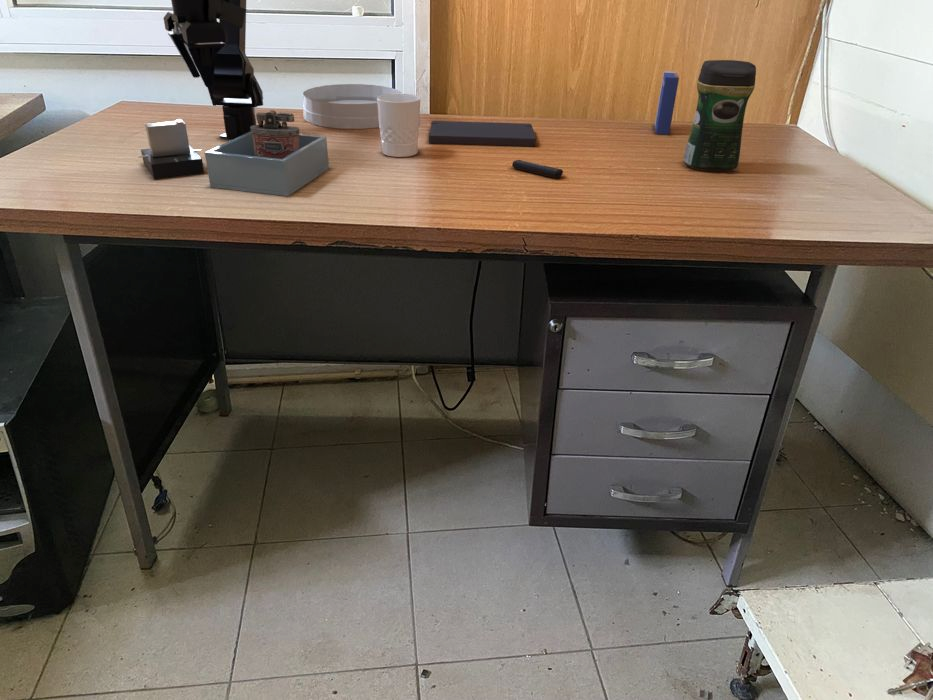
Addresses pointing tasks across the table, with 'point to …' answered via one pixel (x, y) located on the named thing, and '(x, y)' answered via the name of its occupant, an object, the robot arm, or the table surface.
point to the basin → (266, 166)
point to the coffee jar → (719, 115)
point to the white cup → (399, 123)
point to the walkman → (666, 102)
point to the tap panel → (173, 164)
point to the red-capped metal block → (167, 138)
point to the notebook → (482, 133)
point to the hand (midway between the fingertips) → (202, 82)
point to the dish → (344, 105)
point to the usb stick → (537, 168)
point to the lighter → (275, 135)
